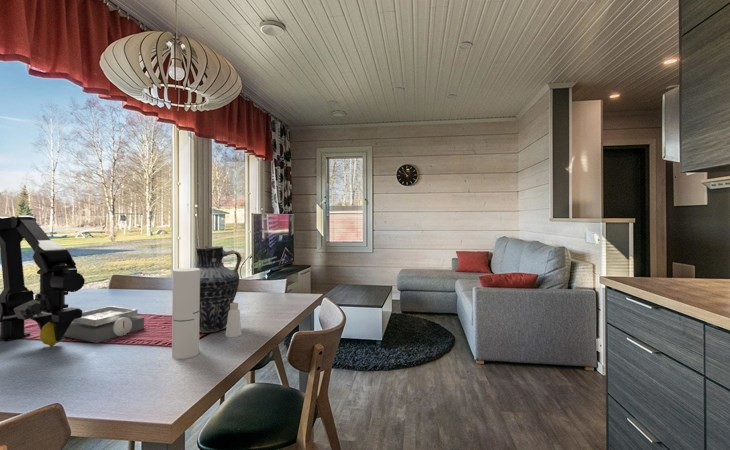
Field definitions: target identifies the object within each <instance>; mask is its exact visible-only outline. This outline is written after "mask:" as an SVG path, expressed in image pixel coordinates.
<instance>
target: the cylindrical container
mask: <svg viewBox="0 0 730 450" xmlns="http://www.w3.org/2000/svg"><path fill="white" fill-rule="evenodd" d="M171 291H172V294H171V295H172V298H171V299H172V300H171V301H172V305H171V307H172V309H171V311H172V313H171V319H172V320H171V321H172V322H171V357H172V358H173V359H175V360H184V359H190V358H193V357H196V356H198V355H199V353H200V332H199V317H200V311H199V310H200V269H199V268H195V267H181V268H175V269H172V290H171Z"/></svg>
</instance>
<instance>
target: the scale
mask: <svg viewBox="0 0 730 450" xmlns="http://www.w3.org/2000/svg"><path fill="white" fill-rule="evenodd" d="M143 329H145V317H144V316H138V315H137V316H133V317H129V318H126V317H123V318H120V319H118V320H117V321H114V322H110V323H106V324H102V325H99V326H92V325H86V324H81V323H75V322H72V323H71V324H70V326H69V327H68V329H67V331H66V332H65V334H64V336H63V337H66V338H70V339H76V340H81V341H85V342H91V343H96V344H97V343H102V342H104V341H107V339H108V340H110V338H111V339H114V338H116V337H117V336H118V337H123V335H124V336H125V335H127V333H128V334H131V333H134V332H137V331H141V330H143ZM118 337H117V338H118Z"/></svg>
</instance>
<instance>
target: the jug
mask: <svg viewBox="0 0 730 450" xmlns="http://www.w3.org/2000/svg"><path fill="white" fill-rule="evenodd" d="M195 249H196V253H197V254H196V255H197V257H198V259H197V260H198V261H197V263H196V264H197V265H196V266H195V267H194V268H199V269H200V310H199V311H200V317H199V333H214V332H218V331H221V330H224V329H225V328H226V329H227V320H228V312H229V310H230V303H234V300H235V299H236V295H237V293H238V290H239V289H238V288H239V285H240V274H239V268H240V265H241V262H242V260H243V259H242V256H241V253H240V252H238V251H236V250H235V249H232V250H226V251H225V249H224V246H222V245H221V246H204V247H203V246H196V247H195ZM232 254H233V255H235V256H236V264H235V266H234V268H233V269H229V268H228V267H226V266H225V265H224V263H223V259H224V258H225V257H228V256H230V255H232Z"/></svg>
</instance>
